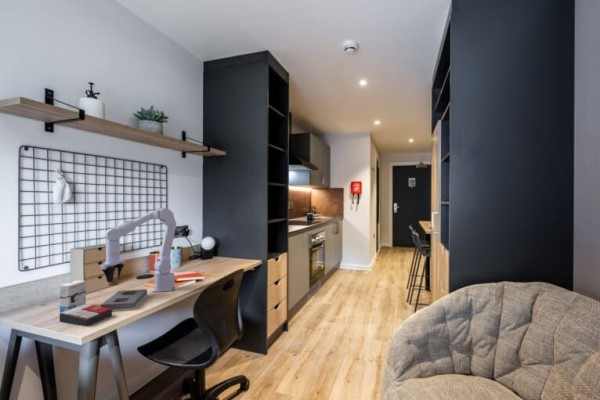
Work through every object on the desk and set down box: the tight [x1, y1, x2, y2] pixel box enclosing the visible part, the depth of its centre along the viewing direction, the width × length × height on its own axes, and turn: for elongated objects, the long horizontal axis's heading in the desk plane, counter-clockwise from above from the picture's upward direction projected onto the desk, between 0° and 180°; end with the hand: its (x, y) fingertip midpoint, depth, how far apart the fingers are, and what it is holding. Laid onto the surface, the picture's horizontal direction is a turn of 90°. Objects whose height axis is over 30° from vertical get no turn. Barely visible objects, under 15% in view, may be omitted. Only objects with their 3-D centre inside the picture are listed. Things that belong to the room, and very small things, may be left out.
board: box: [100, 288, 148, 312], centre depth 140 cm, size 13×20×3 cm, turn 12°
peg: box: [107, 268, 119, 287], centre depth 146 cm, size 4×4×8 cm
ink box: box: [59, 279, 87, 313], centre depth 132 cm, size 8×5×12 cm, turn 168°
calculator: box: [59, 303, 113, 327], centre depth 122 cm, size 11×4×15 cm
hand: (113, 280), depth 146 cm, fingers closed on peg, 4 cm apart
